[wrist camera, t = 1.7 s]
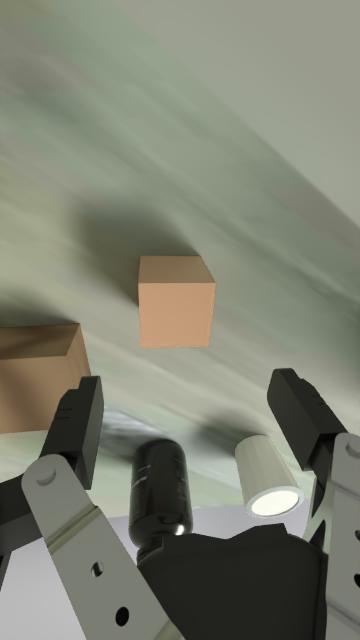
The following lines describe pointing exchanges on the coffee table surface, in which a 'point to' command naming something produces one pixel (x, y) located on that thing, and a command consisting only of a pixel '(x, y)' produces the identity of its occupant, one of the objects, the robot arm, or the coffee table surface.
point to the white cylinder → (266, 478)
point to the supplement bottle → (158, 496)
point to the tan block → (175, 301)
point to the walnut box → (38, 373)
